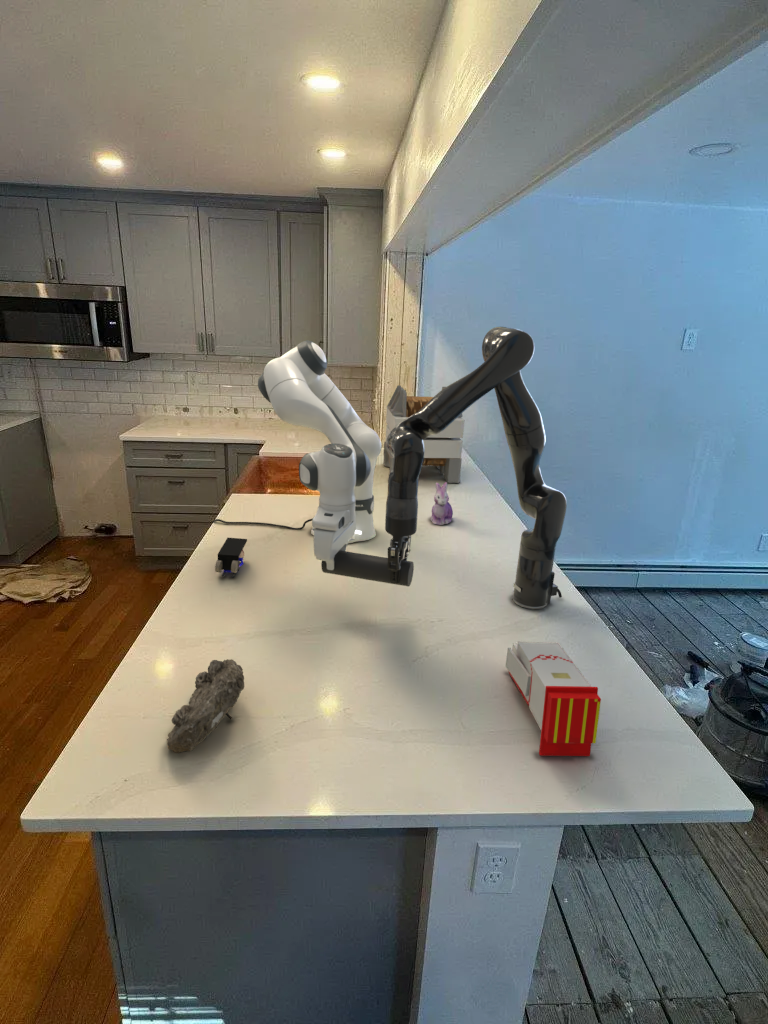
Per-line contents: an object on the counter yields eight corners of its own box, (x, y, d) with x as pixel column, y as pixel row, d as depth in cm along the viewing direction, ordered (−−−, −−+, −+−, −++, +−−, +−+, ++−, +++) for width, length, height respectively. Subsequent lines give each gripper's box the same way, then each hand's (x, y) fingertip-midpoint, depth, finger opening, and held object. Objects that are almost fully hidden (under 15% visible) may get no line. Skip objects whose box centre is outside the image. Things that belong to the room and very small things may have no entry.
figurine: (438, 527, 207) (441, 488, 202) (423, 518, 216) (426, 480, 211) (459, 523, 211) (463, 485, 206) (444, 514, 220) (447, 477, 215)
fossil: (192, 660, 117) (244, 628, 112) (224, 691, 120) (276, 661, 115) (142, 746, 98) (202, 712, 93) (182, 779, 101) (242, 748, 96)
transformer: (382, 463, 289) (386, 382, 275) (445, 464, 293) (451, 384, 279) (390, 482, 257) (394, 392, 243) (460, 483, 261) (468, 394, 247)
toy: (554, 624, 127) (610, 694, 97) (548, 679, 130) (602, 763, 100) (500, 623, 126) (541, 693, 97) (496, 678, 129) (534, 763, 100)
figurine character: (238, 584, 162) (249, 557, 175) (236, 562, 158) (247, 536, 172) (215, 584, 161) (227, 556, 175) (212, 561, 158) (225, 535, 171)
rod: (321, 576, 142) (321, 554, 140) (330, 566, 147) (330, 544, 145) (407, 590, 136) (408, 567, 134) (413, 580, 142) (414, 557, 140)
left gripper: (339, 497, 148) (338, 545, 153) (308, 523, 130) (308, 577, 135) (362, 500, 147) (361, 549, 152) (334, 527, 128) (333, 582, 133)
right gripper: (409, 525, 126) (406, 592, 132) (423, 505, 139) (419, 567, 145) (377, 520, 128) (375, 587, 134) (394, 501, 141) (391, 562, 147)
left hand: (336, 562), depth 143 cm, fingers closed on rod, 6 cm apart
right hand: (398, 576), depth 139 cm, fingers closed on rod, 6 cm apart
